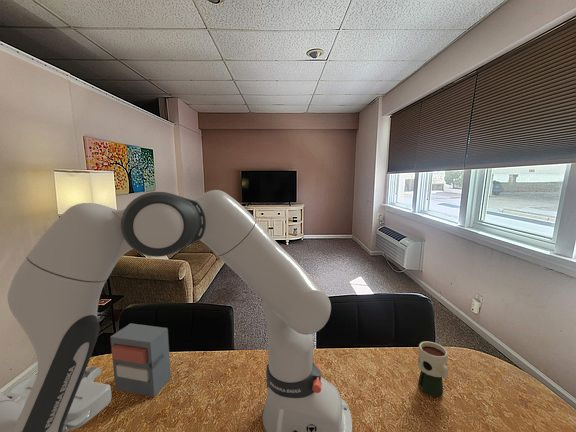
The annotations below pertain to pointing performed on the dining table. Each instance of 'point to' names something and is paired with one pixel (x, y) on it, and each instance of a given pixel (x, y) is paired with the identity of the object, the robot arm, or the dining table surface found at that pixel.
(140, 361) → the red button
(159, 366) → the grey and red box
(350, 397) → the dining table surface
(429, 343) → the character mug
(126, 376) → the pale button
